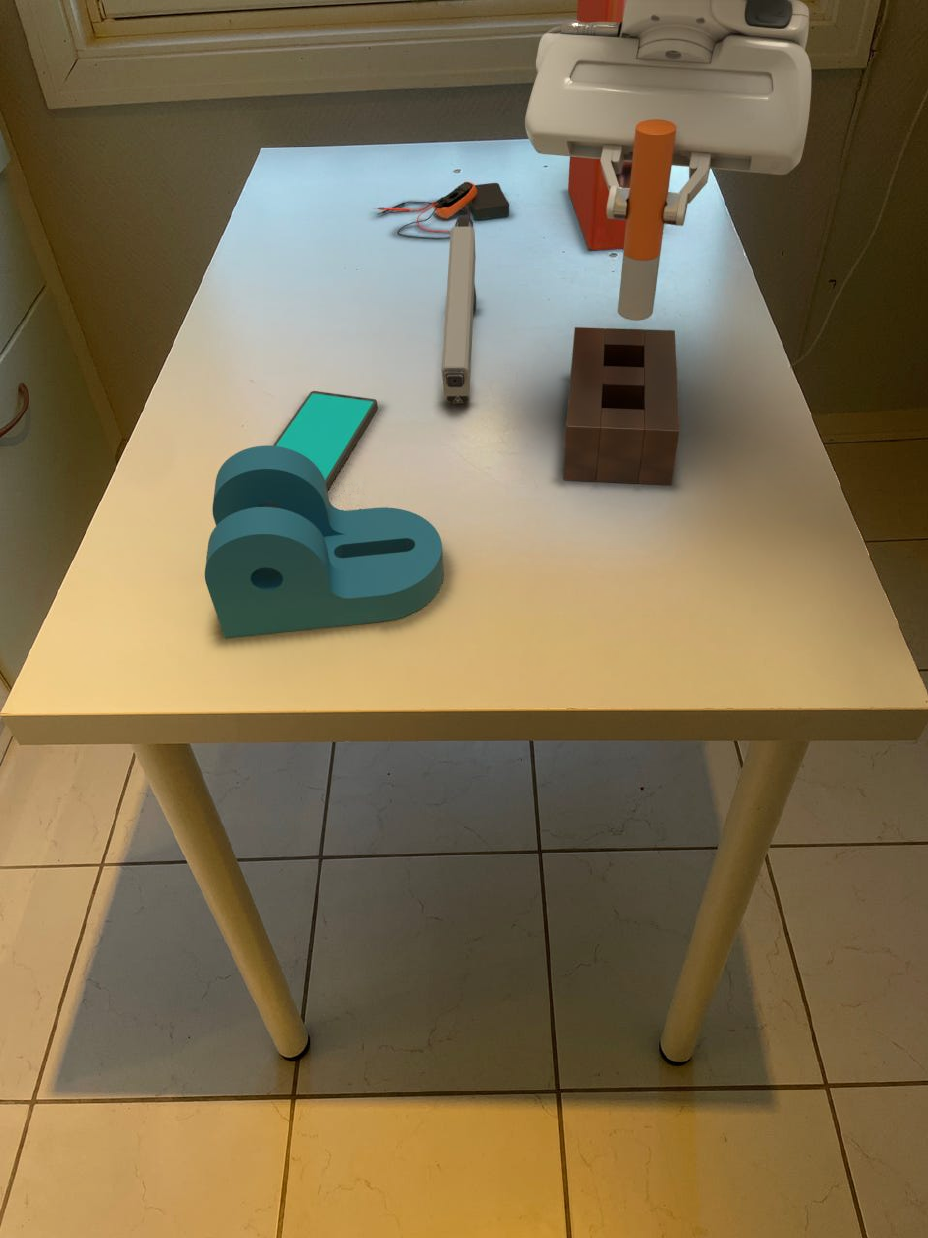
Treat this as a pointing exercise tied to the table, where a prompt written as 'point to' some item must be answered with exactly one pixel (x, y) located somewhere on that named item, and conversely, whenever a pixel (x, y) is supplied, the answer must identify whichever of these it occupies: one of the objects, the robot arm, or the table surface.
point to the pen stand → (622, 406)
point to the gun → (459, 312)
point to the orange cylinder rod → (645, 217)
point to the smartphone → (327, 429)
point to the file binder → (597, 160)
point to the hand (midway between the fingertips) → (644, 219)
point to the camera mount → (310, 551)
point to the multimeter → (465, 203)
